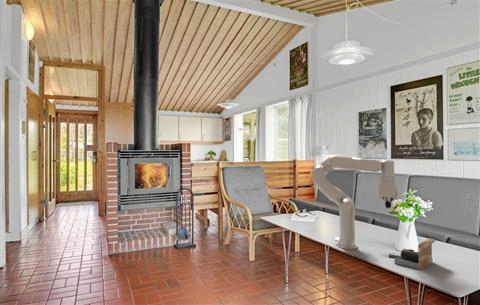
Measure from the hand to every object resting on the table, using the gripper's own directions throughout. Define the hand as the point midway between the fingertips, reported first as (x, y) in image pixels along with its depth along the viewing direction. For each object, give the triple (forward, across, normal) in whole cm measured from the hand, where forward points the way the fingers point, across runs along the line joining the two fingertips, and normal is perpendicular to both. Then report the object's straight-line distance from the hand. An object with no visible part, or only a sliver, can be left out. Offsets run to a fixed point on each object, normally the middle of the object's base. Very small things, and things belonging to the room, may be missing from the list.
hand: (388, 207), depth 195 cm
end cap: (+27, +18, -14) cm, 36 cm away
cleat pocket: (+27, +18, -14) cm, 35 cm away
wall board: (+27, +25, -14) cm, 39 cm away
